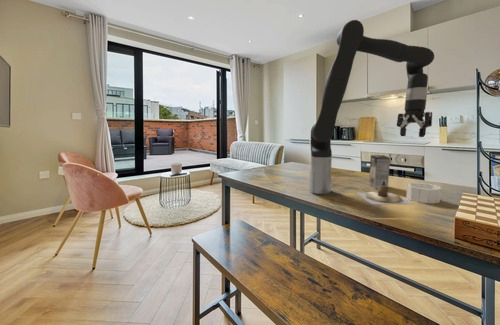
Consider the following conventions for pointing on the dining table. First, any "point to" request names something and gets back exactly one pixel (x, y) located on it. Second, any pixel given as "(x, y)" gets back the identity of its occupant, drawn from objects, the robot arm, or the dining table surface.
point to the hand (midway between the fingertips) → (411, 136)
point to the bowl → (423, 193)
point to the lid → (383, 195)
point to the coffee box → (379, 171)
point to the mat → (383, 202)
